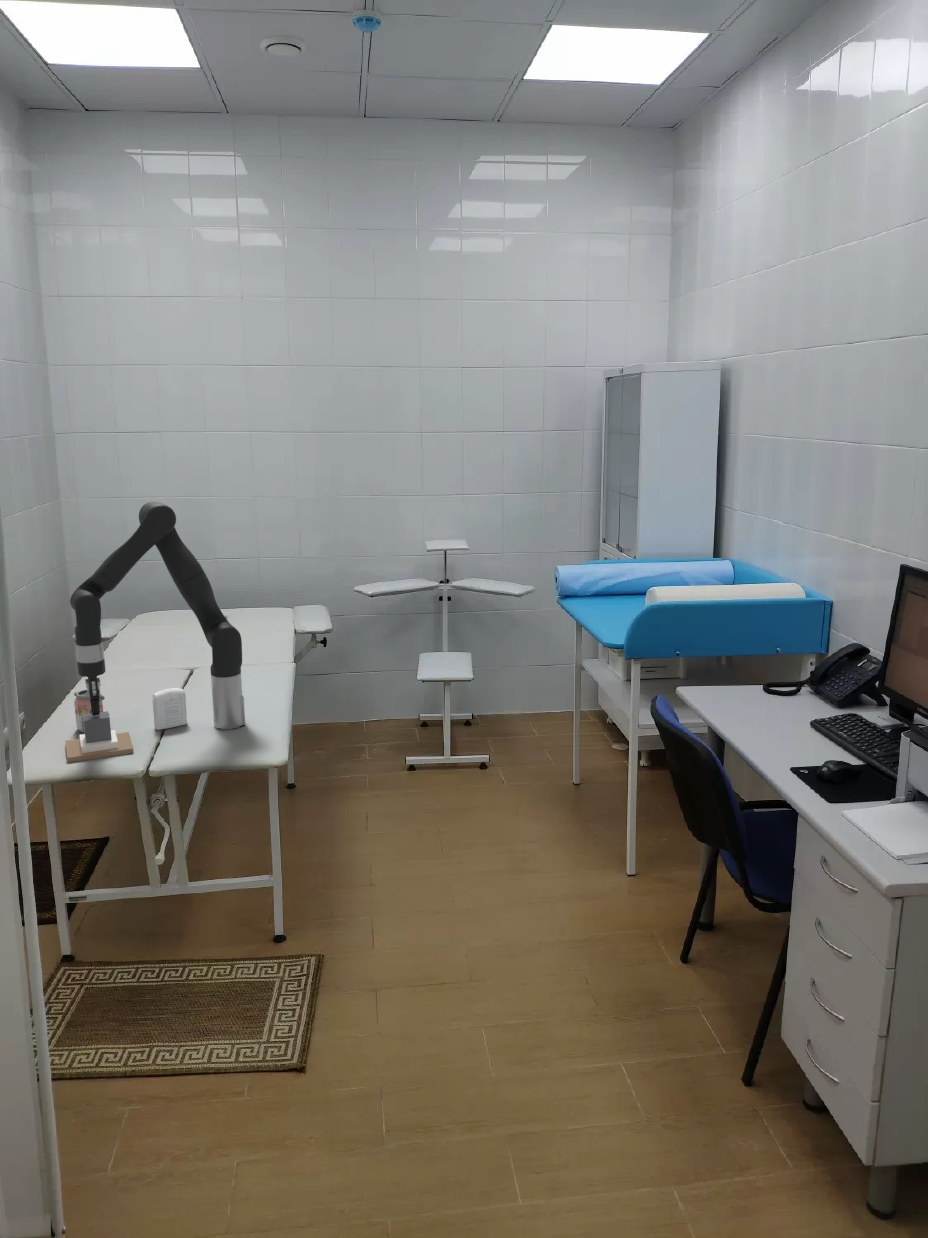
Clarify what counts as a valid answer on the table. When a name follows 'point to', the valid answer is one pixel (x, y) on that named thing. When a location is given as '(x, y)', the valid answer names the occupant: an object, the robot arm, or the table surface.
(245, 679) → the table surface
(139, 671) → the table surface
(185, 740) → the table surface
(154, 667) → the table surface
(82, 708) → the beverage can
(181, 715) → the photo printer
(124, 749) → the socket
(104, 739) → the plug
